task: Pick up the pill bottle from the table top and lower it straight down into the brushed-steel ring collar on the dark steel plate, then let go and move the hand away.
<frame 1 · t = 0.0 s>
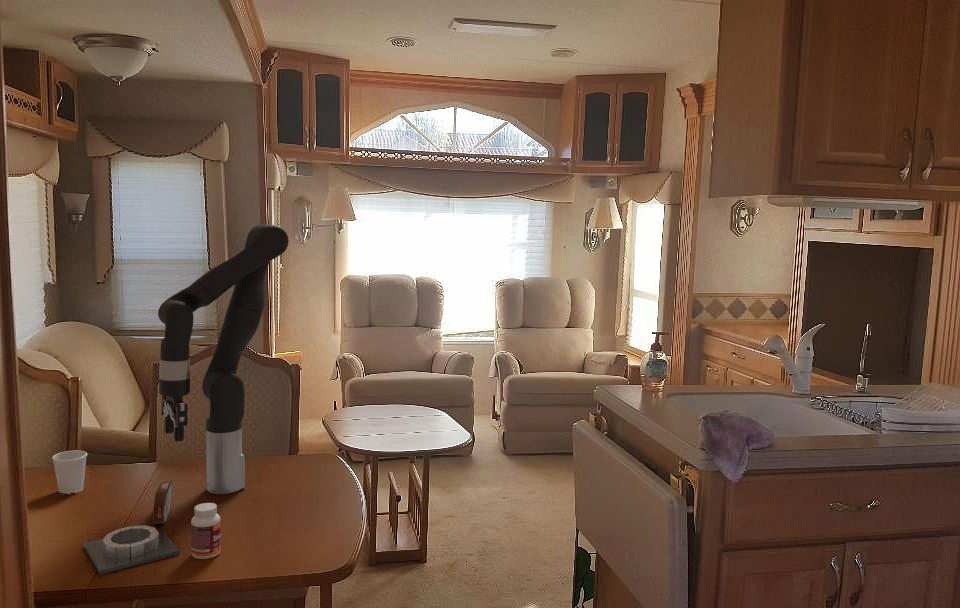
hand: (173, 436, 191), 17 cm above the table, tool pointing down, fingers open, 8 cm apart
pill bottle: (206, 554, 163), on the table
tin: (163, 518, 181), on the table
collar: (131, 550, 163), on the table
dixie cup: (71, 491, 197), on the table
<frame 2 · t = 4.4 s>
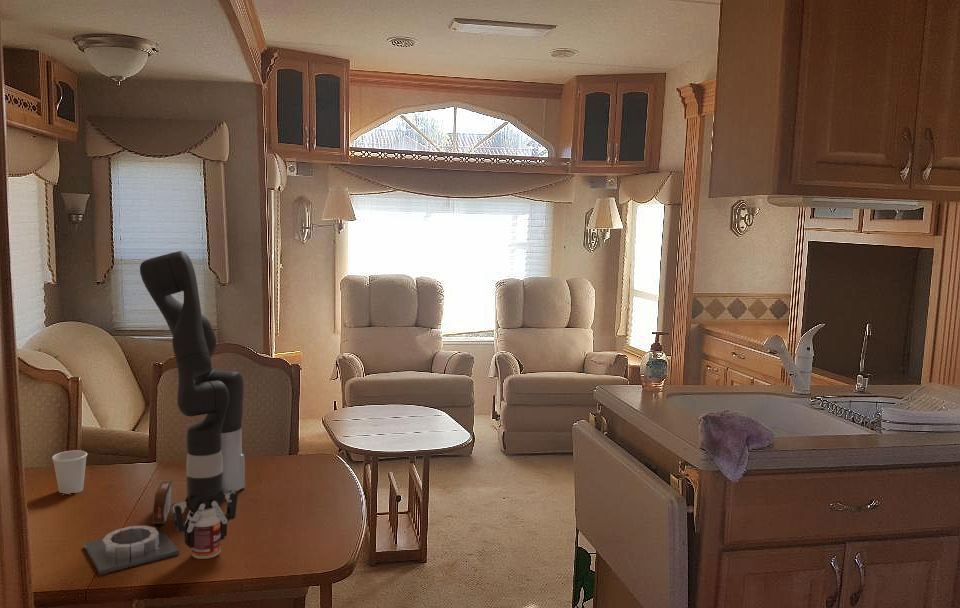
hand: (206, 542, 162), 3 cm above the table, tool pointing down, fingers closed on pill bottle, 6 cm apart
pill bottle: (206, 554, 163), on the table, touching gripper
everything else where it was.
when the fingers open (5 cm above the table, at t = 11.5 s): pill bottle drops 1 cm, resting on collar.
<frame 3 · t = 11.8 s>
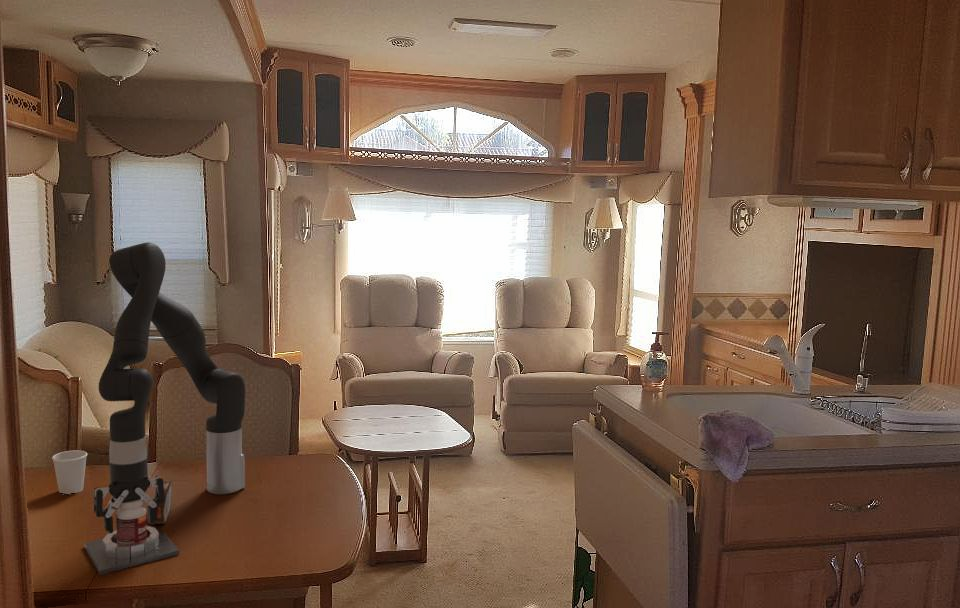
hand: (130, 527, 162), 6 cm above the table, tool pointing down, fingers open, 8 cm apart
pill bottle: (132, 547, 163), point 1 cm above the table, touching collar
everything else where it was.
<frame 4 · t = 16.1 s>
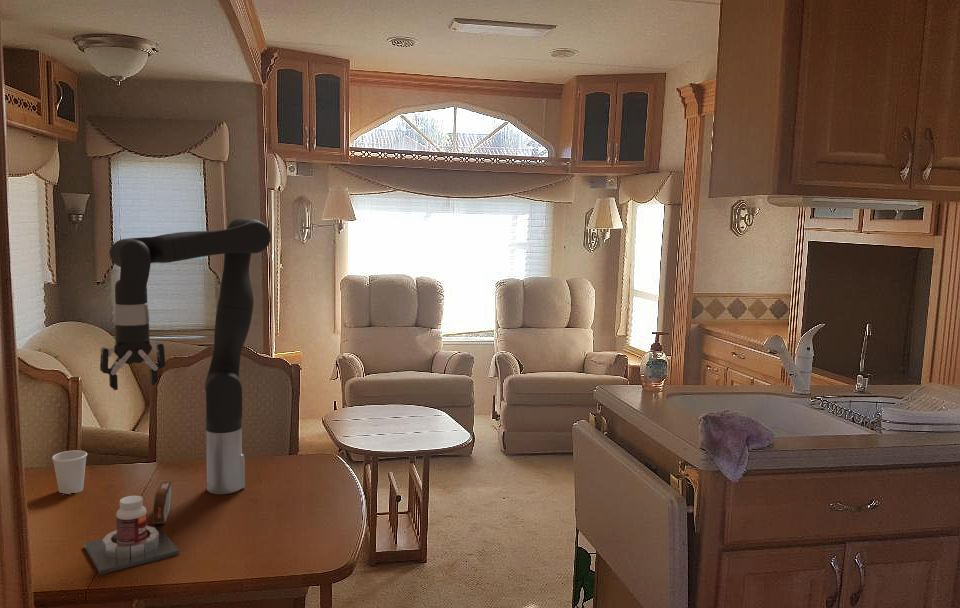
hand: (134, 387, 177), 33 cm above the table, tool pointing down, fingers open, 8 cm apart
nothing on the table moved.
at the end: pill bottle 0.2 cm off-centre on the collar, point 0.8 cm above the collar's base; pill bottle tilted 0°; the gripper is holding nothing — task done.
